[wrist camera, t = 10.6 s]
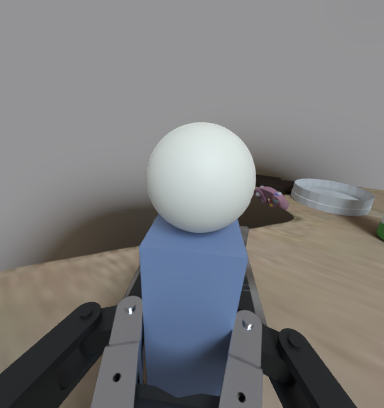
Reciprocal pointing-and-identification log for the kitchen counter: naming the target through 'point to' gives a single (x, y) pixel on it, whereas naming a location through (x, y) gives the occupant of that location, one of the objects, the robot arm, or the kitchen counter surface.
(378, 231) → the wine bottle
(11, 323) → the kitchen counter surface
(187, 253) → the figure
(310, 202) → the dish
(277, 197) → the video game controller
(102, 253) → the kitchen counter surface
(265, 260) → the kitchen counter surface
